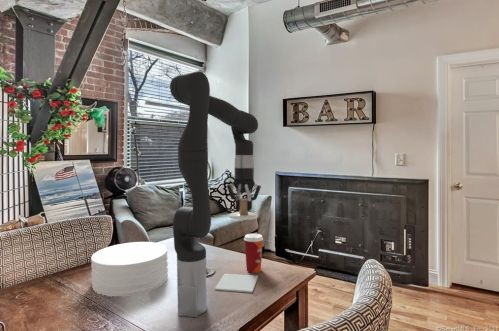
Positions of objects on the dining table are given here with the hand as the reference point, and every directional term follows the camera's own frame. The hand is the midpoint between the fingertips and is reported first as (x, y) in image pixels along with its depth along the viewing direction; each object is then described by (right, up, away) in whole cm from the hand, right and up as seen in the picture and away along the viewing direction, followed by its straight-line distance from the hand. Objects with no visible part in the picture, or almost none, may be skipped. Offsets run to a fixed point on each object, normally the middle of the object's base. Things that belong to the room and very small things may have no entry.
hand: (243, 210), depth 126 cm
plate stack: (-45, -28, +1) cm, 53 cm away
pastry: (-18, -28, +8) cm, 34 cm away
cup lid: (0, -3, 0) cm, 3 cm away
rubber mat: (-2, -28, -3) cm, 28 cm away
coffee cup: (+4, -27, +10) cm, 29 cm away
